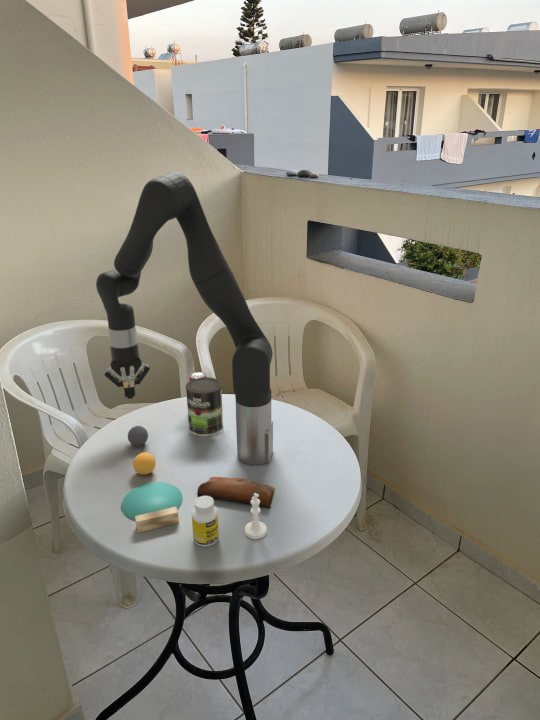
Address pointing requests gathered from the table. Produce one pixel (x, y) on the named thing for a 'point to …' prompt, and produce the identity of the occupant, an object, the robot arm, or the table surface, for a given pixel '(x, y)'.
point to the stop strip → (157, 519)
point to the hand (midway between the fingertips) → (130, 397)
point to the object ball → (144, 463)
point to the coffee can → (204, 406)
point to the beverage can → (197, 375)
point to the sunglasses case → (236, 490)
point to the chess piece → (255, 521)
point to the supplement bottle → (205, 522)
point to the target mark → (151, 499)
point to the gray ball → (137, 435)
